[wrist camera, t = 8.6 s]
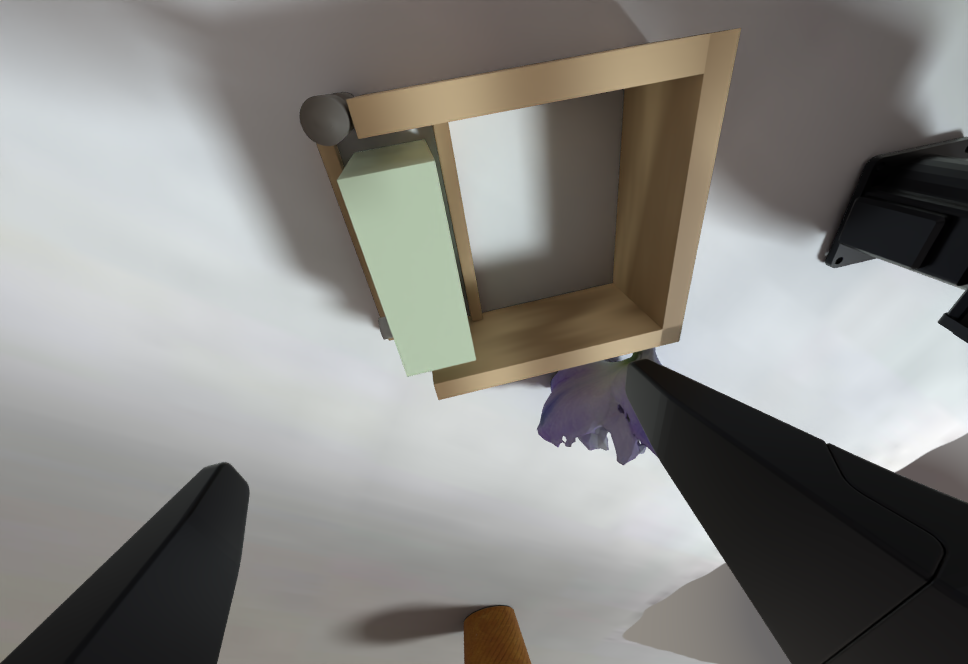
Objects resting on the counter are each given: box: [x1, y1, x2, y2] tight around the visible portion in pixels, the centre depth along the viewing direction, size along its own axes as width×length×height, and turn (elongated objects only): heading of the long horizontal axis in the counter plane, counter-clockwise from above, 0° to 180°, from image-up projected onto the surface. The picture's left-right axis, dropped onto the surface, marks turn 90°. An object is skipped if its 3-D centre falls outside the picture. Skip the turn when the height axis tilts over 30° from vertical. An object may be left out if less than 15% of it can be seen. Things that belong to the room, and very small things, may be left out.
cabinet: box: [300, 28, 741, 400], centre depth 16 cm, size 14×12×6 cm
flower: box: [537, 347, 661, 465], centre depth 22 cm, size 9×9×10 cm
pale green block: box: [337, 139, 476, 377], centre depth 16 cm, size 4×8×6 cm, turn 8°
